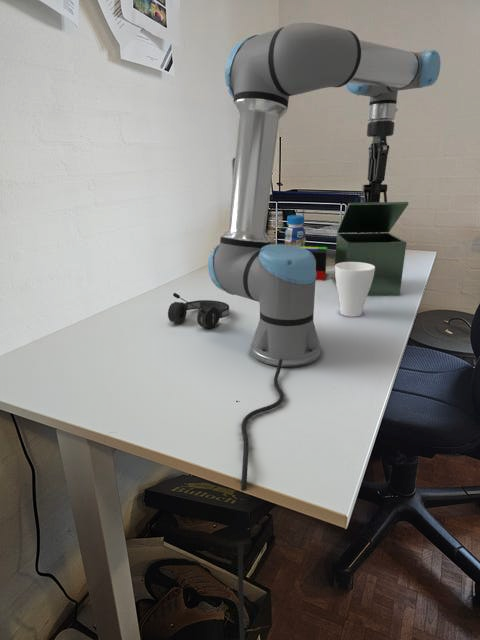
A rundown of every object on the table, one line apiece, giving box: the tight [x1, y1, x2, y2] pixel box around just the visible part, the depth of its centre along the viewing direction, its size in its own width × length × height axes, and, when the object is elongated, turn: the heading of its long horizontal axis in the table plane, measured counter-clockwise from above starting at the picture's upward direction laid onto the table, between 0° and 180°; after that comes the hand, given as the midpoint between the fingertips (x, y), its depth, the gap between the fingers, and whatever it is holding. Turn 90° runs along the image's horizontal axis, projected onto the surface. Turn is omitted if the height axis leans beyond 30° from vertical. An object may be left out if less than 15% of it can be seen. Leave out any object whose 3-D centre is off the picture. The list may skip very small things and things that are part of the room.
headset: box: [167, 292, 230, 329], centre depth 108 cm, size 14×10×20 cm
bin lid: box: [336, 183, 410, 234], centre depth 129 cm, size 18×18×8 cm
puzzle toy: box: [301, 246, 328, 281], centre depth 148 cm, size 10×10×10 cm
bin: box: [333, 232, 407, 296], centre depth 132 cm, size 18×18×17 cm
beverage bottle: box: [284, 214, 306, 247], centre depth 163 cm, size 8×8×20 cm
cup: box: [334, 262, 375, 318], centre depth 110 cm, size 10×10×14 cm
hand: (373, 204), depth 125 cm, fingers closed on bin lid, 2 cm apart
